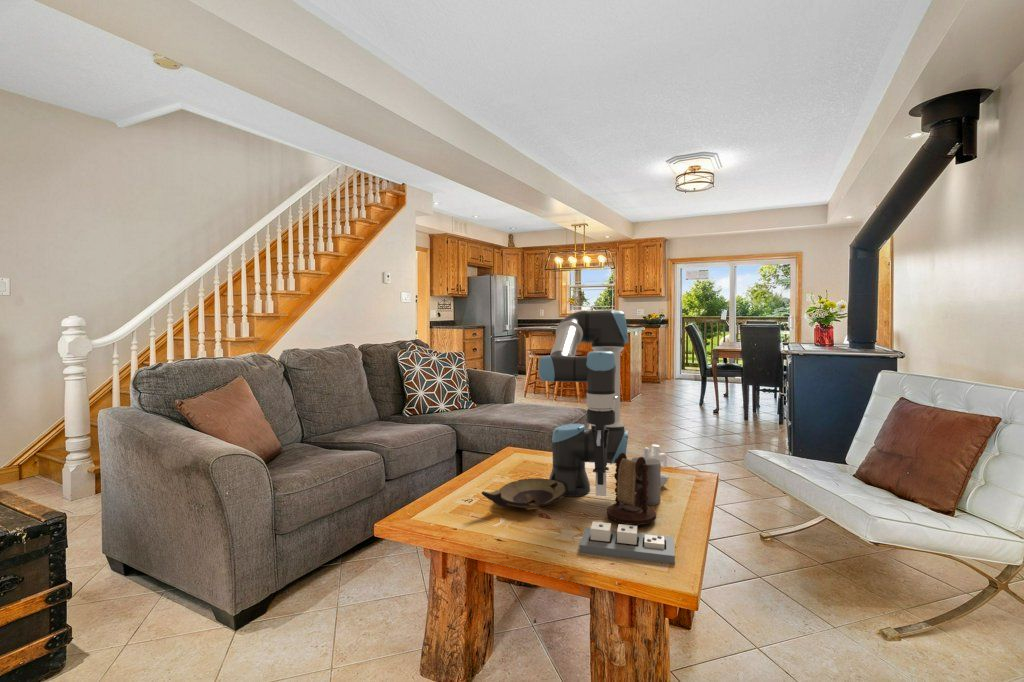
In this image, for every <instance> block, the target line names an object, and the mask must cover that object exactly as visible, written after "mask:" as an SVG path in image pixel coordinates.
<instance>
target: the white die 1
mask: <svg viewBox="0 0 1024 682" xmlns="http://www.w3.org/2000/svg"><path fill="white" fill-rule="evenodd" d="M591 523H592V524H591V526H590V527H591V541H597V542H606V543H609V542H610V543H611V541H610V537H611V530H612V523H610V522H602V521H592V522H591Z"/></svg>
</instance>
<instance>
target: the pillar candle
mask: <svg viewBox="0 0 1024 682" xmlns="http://www.w3.org/2000/svg"><path fill="white" fill-rule="evenodd" d="M639 457H640V456H637V457H633V458H631V460H633V461H637V460H638V458H639ZM642 457H643V458H644V459H645V462H646V464H647V465H648V470H647V471H648V472H647V477H648V478H647V480H648V481H649V485H648V486H647V492H648V493H647V494H646V495H647V496H648V500H647V502H648V503H646V504H647V506H655V505H659V504H660V503H661V478H660V476H661V473H662V472H661V467H662V466H661V461H660V460H658V459H655V458H652V457H644V456H642ZM642 476H643V474H642ZM642 476H641V477H640V478H637V477H636V479H640V480H643V478H642ZM640 487H642V485H641V484H638V483H636V482H635V492H636V493H637V491H638V489H639V488H640Z"/></svg>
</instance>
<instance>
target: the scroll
mask: <svg viewBox="0 0 1024 682" xmlns="http://www.w3.org/2000/svg"><path fill="white" fill-rule="evenodd" d="M638 457H639V458H638V460H637V461H633V460H632V459H628V457H627V454H626V455H625V453H620V454H619V456H618V457H617V458H616V459H615V463H616V464H615V470H614V471H615V473H614V474H613V477H614V480H615V481H616V482H615V488H614V492H615V498H614V502H615V503H613V504H610V505H609V506H607V508H606V515H607V519H608V520H609V521H610V520H613V521H614V522H618V523H621V524H624V525H633V526H637V529H638V527H639V525H645V524H646V525H647V524H650V523H652V522H654V521H655V520H657V519H656V518H657V511H656V510H654V509H653V508H652V507H650V505H647V504H646V503H648V502H647V500H648V496H647V495H646V494H647V493H648V492H647V486H648V485H649V481H648V480H647V478H648V477H647V472H648V471H647V470H648V465H647V464H646V462H645V459H644V458H643V457H644V456H638ZM642 474H643V476H642ZM641 476H642V478H643V480H640V479H636V477H637V478H640V477H641ZM635 482H636V483H638V484H641V485H642V487H640V488H639V489H638V491H637V493H636V492H635Z"/></svg>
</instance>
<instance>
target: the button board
mask: <svg viewBox="0 0 1024 682" xmlns="http://www.w3.org/2000/svg"><path fill="white" fill-rule="evenodd" d="M645 534H647V535H656V536H664V549H655V548H646V547H644V540H645ZM674 538H675V536H674V535H667V534H666V535H665V534H658V533H657V534H656V533H648V532H647V533H646V532H638V531H637V546H636V545H630V544H627V545H626V544H621V543H617V529H611V537H610V543H609V542H603V541H594V540H591V526H585V528H584V530H583V533H582V537H581V538H580V539H581V540H580V542H579V545H578V546H579V547H578V548H579V549H578V551H579V553H582V554H591V555H599V556H608V557H613V558H614V557H616V558H621V559H622V558H624V559H631V560H640V561H641V560H642V561H647V562H649V561H650V562H657V563H658V562H659V563H665V564H676V552H675V550H676V549H675V539H674Z"/></svg>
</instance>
